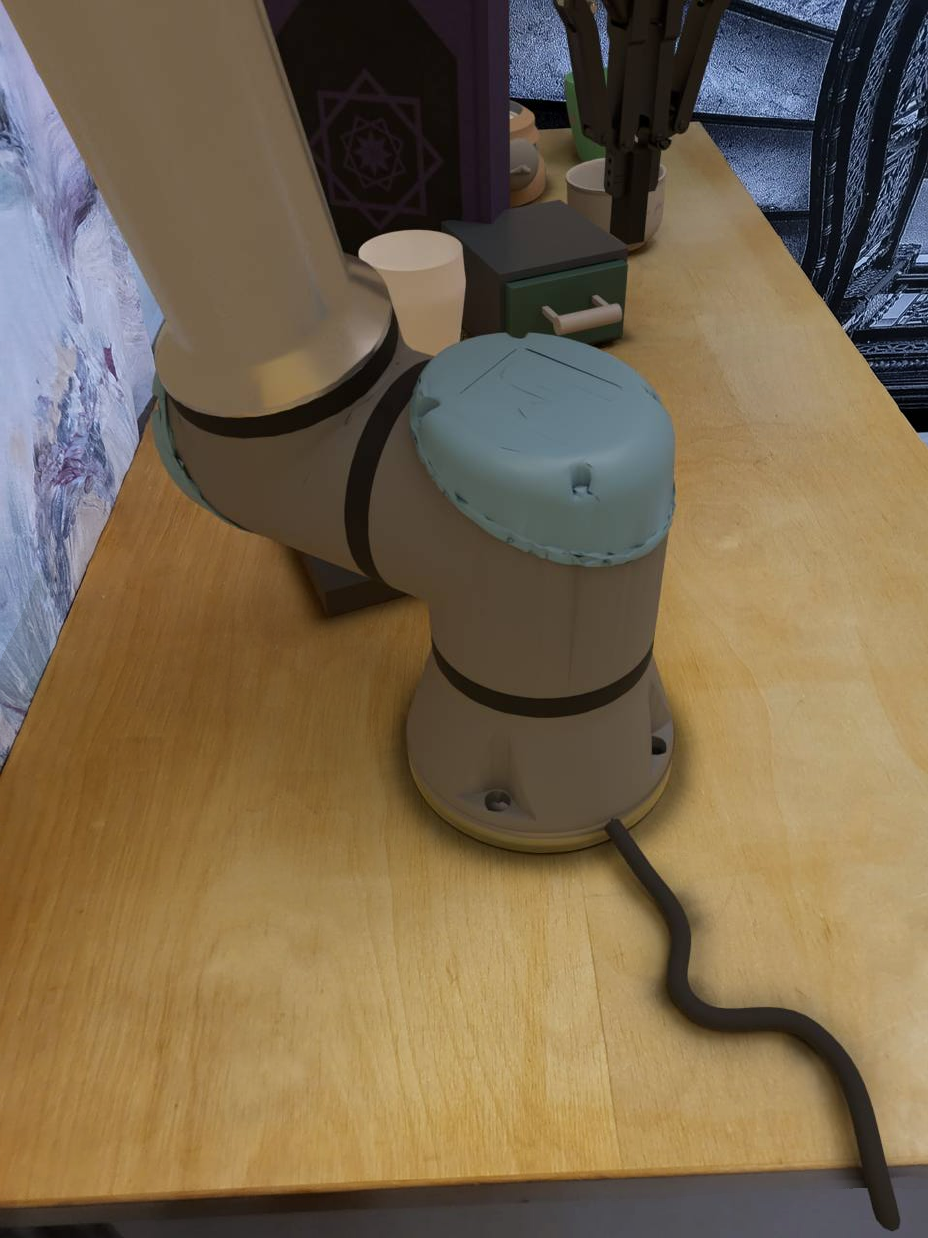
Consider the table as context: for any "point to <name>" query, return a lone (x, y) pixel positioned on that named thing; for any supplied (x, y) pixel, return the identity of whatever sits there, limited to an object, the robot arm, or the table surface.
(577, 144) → the green tumbler
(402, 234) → the cup
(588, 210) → the teacup
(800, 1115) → the table surface
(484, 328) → the cabinet
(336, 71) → the book
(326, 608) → the dark flat panel
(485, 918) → the table surface
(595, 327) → the drawer
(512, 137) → the alarm clock
